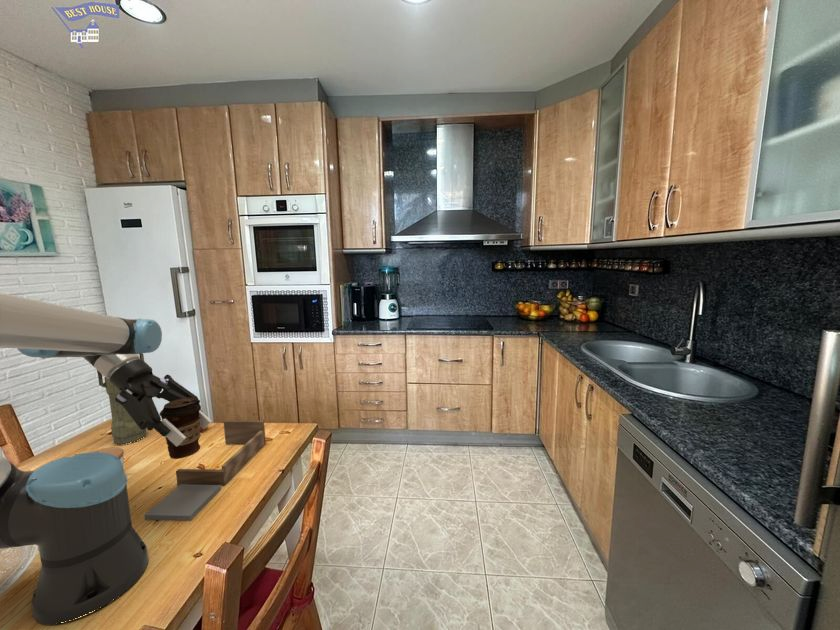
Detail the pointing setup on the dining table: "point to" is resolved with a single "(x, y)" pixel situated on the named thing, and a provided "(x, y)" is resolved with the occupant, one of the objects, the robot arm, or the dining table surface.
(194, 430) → the coffee cup
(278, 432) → the dining table surface
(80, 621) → the dining table surface
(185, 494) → the slate pad
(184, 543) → the dining table surface
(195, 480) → the u-shaped wooden frame
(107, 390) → the thermos
